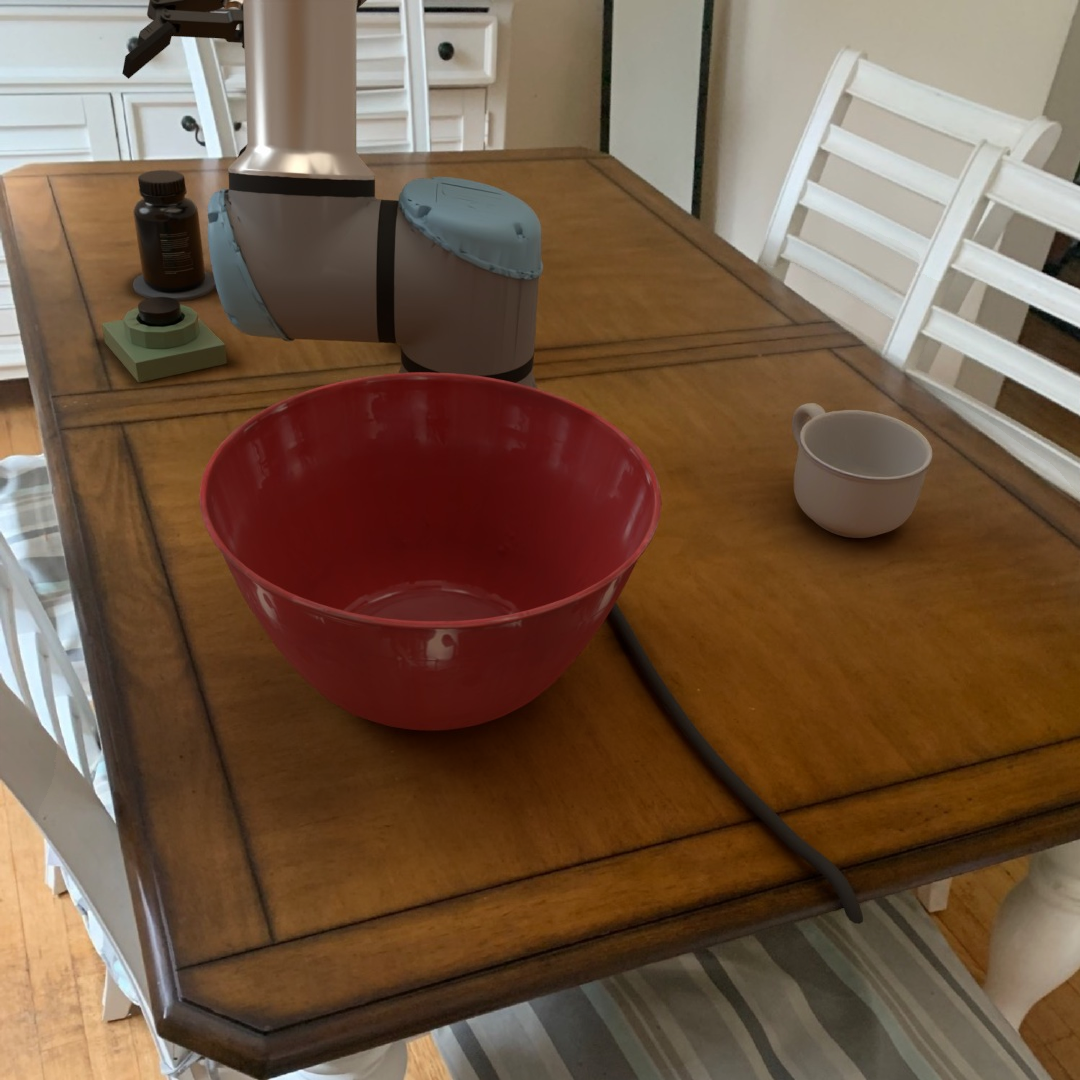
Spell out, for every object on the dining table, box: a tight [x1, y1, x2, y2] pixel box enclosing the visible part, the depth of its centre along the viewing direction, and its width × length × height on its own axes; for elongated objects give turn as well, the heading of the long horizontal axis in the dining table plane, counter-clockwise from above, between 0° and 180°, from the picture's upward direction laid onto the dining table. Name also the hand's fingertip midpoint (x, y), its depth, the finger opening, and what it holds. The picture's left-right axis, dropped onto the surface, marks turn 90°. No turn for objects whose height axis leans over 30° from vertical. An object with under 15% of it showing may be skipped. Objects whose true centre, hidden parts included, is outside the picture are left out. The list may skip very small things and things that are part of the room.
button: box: [137, 297, 182, 327], centre depth 112 cm, size 4×4×2 cm
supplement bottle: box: [132, 169, 206, 292], centre depth 125 cm, size 7×7×12 cm
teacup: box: [791, 402, 933, 539], centre depth 97 cm, size 14×11×8 cm
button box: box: [101, 304, 228, 384], centre depth 114 cm, size 10×9×4 cm
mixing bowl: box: [198, 372, 663, 731], centre depth 75 cm, size 28×28×16 cm
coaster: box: [132, 271, 216, 302], centre depth 128 cm, size 9×9×1 cm
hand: (184, 115), depth 112 cm, fingers open, 13 cm apart
